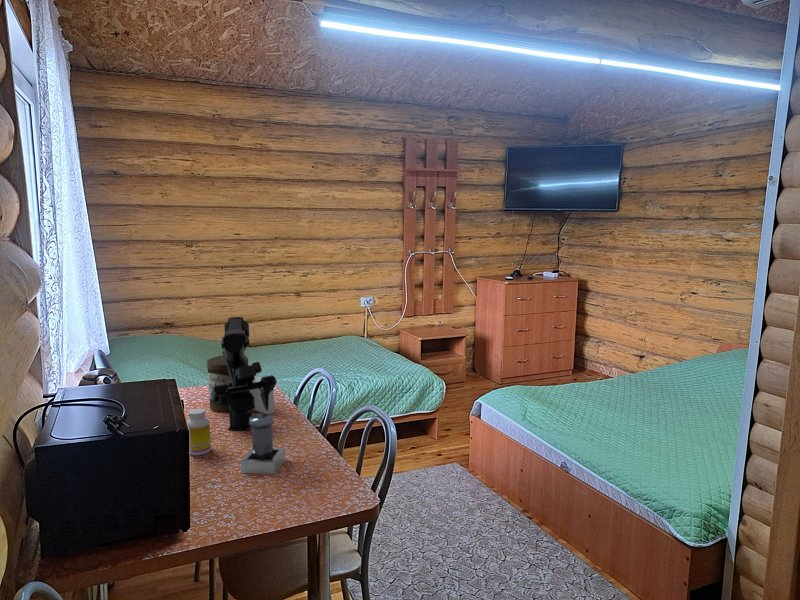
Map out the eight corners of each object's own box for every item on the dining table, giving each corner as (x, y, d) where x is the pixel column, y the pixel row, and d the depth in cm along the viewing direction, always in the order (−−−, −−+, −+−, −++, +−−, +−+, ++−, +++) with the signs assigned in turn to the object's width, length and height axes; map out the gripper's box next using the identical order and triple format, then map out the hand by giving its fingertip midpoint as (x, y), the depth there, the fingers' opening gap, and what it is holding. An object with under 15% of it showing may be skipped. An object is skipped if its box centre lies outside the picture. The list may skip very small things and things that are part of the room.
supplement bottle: (215, 451, 172) (212, 410, 170) (194, 458, 167) (191, 416, 165) (204, 445, 176) (201, 405, 174) (184, 451, 172) (181, 411, 170)
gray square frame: (241, 473, 157) (240, 461, 157) (253, 458, 167) (253, 446, 166) (274, 474, 156) (274, 462, 156) (285, 459, 166) (284, 448, 165)
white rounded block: (250, 409, 208) (248, 376, 206) (259, 406, 211) (258, 374, 209) (266, 415, 201) (264, 382, 199) (276, 412, 204) (274, 379, 203)
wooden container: (201, 410, 208) (197, 352, 204) (228, 397, 221) (224, 343, 218) (233, 415, 202) (230, 355, 199) (259, 402, 216) (256, 346, 212)
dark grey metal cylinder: (248, 470, 158) (245, 421, 156) (256, 460, 165) (254, 413, 163) (271, 471, 158) (268, 422, 155) (278, 461, 164) (276, 413, 162)
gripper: (211, 359, 162) (225, 406, 155) (273, 349, 173) (288, 393, 165) (205, 378, 170) (218, 425, 163) (265, 368, 180) (279, 411, 173)
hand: (252, 413), depth 166 cm, fingers open, 9 cm apart
